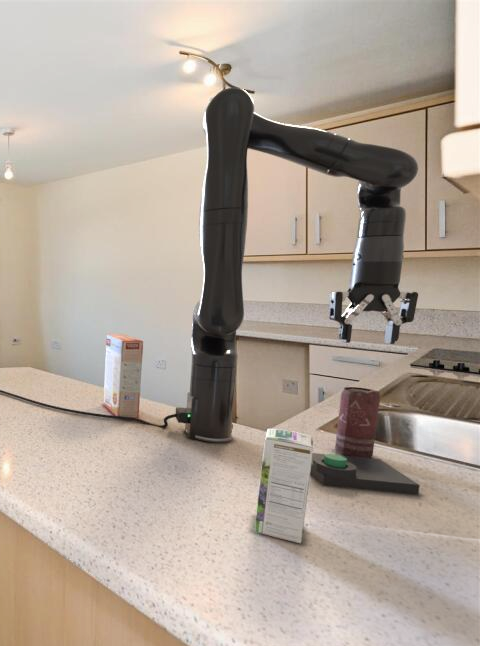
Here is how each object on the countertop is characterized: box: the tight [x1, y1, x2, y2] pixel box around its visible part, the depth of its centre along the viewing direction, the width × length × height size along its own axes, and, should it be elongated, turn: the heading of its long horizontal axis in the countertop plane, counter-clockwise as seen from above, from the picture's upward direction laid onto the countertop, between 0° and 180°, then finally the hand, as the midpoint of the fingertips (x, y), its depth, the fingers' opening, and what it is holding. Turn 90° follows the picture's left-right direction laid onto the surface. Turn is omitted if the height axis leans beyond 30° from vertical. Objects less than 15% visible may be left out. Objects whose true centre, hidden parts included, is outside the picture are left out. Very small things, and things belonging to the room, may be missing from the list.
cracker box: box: [102, 333, 144, 419], centre depth 128 cm, size 14×6×21 cm, turn 179°
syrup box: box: [254, 428, 314, 544], centre depth 68 cm, size 6×6×14 cm
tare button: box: [324, 453, 347, 468], centre depth 85 cm, size 3×3×2 cm
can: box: [334, 386, 381, 458], centre depth 97 cm, size 6×6×14 cm
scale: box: [310, 452, 420, 496], centre depth 87 cm, size 15×13×4 cm
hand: (367, 342), depth 95 cm, fingers open, 7 cm apart
